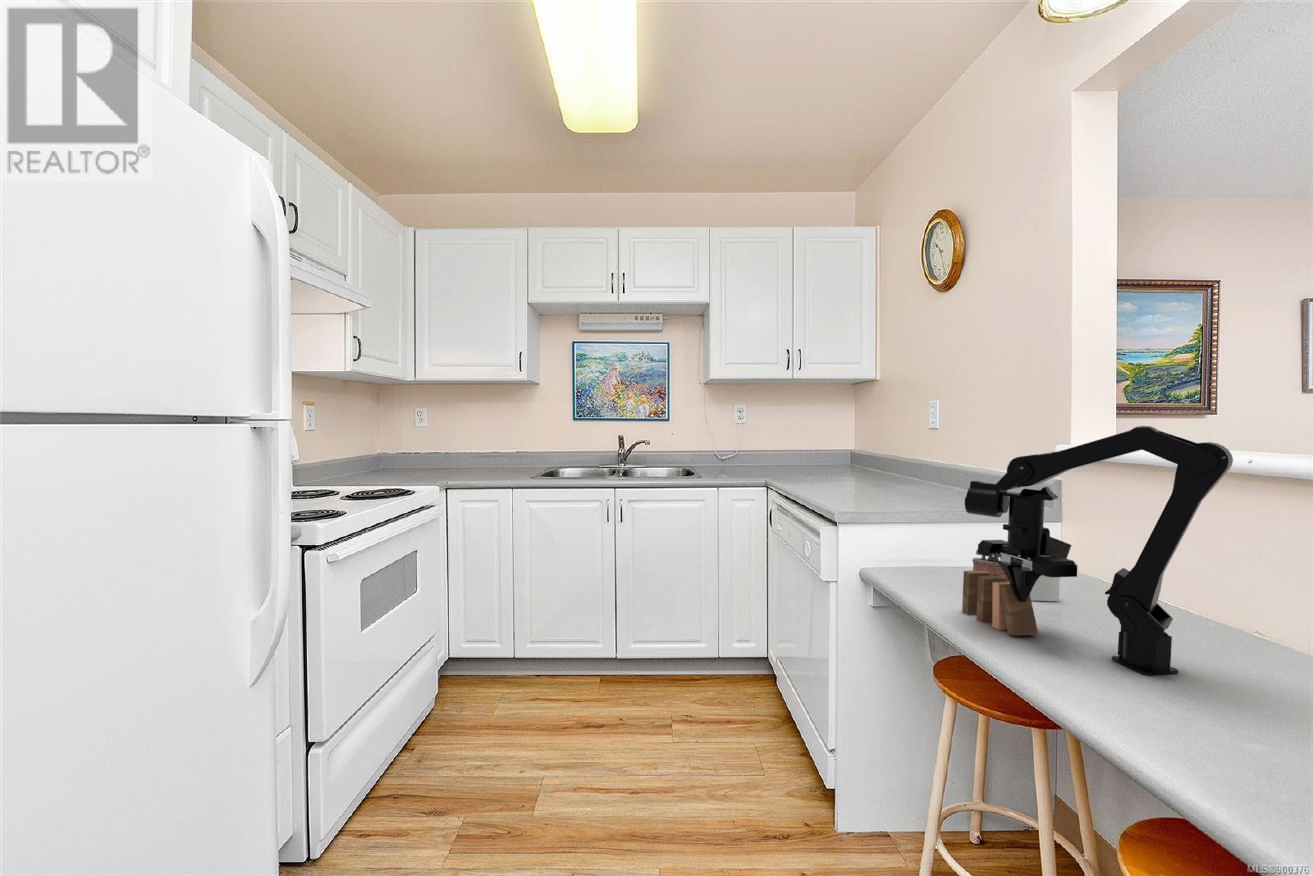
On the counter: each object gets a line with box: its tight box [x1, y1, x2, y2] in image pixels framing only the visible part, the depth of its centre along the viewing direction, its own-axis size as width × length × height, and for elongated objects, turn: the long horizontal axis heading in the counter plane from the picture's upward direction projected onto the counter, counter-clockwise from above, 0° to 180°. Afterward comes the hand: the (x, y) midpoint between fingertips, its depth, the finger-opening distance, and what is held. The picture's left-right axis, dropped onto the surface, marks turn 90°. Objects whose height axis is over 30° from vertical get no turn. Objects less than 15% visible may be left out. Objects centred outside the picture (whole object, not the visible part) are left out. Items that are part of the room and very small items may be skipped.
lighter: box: [972, 548, 1009, 582], centre depth 144 cm, size 8×3×10 cm, turn 58°
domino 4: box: [999, 587, 1039, 636], centre depth 115 cm, size 2×5×9 cm, turn 99°
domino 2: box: [976, 576, 1006, 623], centre depth 123 cm, size 2×5×9 cm, turn 99°
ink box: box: [1028, 555, 1061, 603], centre depth 138 cm, size 7×4×13 cm, turn 84°
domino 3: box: [991, 582, 1012, 631], centre depth 119 cm, size 2×5×9 cm, turn 99°
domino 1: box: [961, 570, 991, 616], centre depth 127 cm, size 2×5×9 cm, turn 99°
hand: (1022, 601), depth 114 cm, fingers closed
